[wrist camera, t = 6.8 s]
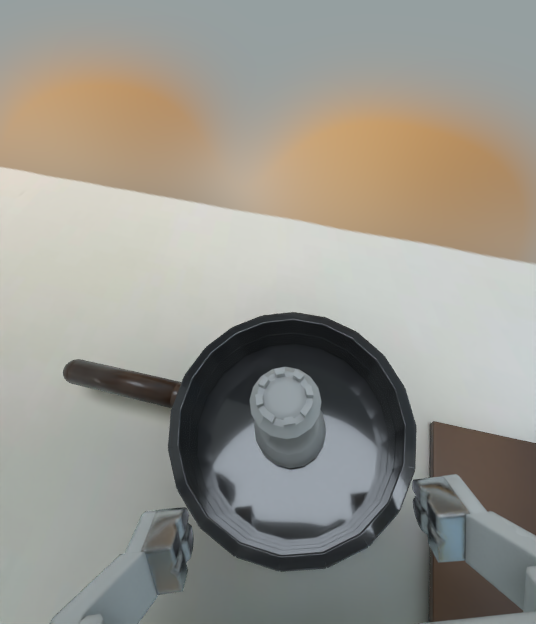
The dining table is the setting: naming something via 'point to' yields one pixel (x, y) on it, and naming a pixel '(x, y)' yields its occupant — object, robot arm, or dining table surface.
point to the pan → (300, 480)
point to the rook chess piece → (288, 417)
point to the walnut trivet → (494, 497)
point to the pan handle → (122, 382)
